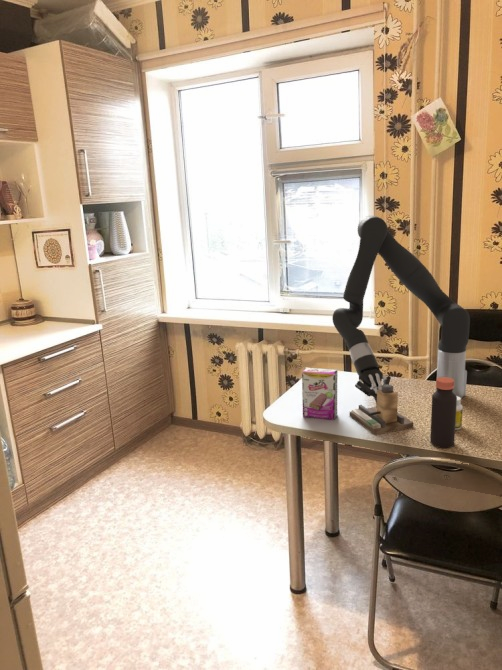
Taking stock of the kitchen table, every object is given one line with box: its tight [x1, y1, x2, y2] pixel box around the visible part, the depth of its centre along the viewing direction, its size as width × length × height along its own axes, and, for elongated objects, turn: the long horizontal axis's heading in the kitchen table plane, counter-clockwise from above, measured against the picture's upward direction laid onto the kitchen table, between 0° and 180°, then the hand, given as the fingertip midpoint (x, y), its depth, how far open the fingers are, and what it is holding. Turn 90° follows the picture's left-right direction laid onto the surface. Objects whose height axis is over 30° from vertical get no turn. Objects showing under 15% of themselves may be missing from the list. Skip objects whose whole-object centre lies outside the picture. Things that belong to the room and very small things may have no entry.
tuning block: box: [369, 383, 399, 423], centre depth 175 cm, size 9×4×12 cm, turn 109°
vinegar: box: [429, 377, 457, 449], centre depth 162 cm, size 7×7×20 cm
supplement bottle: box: [455, 396, 464, 431], centre depth 174 cm, size 5×5×10 cm
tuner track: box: [349, 403, 414, 436], centre depth 181 cm, size 14×16×4 cm
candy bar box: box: [301, 367, 338, 421], centre depth 185 cm, size 11×5×16 cm, turn 71°
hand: (382, 405), depth 179 cm, fingers closed
